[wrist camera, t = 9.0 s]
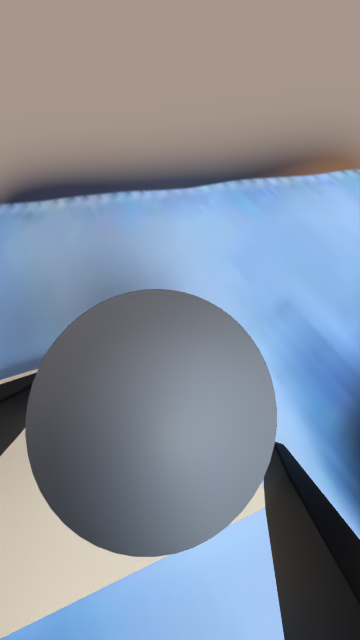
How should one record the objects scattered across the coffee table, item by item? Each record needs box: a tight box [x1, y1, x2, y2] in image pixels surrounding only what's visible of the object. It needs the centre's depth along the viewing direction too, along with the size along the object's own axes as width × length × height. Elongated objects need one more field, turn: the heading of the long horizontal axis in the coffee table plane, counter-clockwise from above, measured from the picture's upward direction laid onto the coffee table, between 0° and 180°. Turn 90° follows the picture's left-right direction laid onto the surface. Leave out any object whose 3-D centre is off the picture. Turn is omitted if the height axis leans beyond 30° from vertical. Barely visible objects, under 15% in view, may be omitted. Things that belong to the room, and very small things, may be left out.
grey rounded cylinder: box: [25, 289, 277, 557], centre depth 11 cm, size 6×6×13 cm
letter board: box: [0, 368, 265, 639], centre depth 17 cm, size 18×14×1 cm
